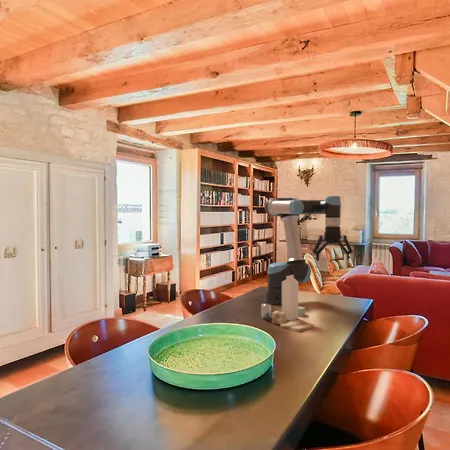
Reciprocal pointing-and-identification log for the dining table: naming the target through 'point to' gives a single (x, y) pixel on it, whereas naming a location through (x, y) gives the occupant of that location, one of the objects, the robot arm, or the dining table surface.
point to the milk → (290, 298)
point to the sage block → (301, 311)
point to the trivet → (297, 325)
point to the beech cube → (278, 317)
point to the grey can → (266, 311)
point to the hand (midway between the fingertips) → (332, 266)
